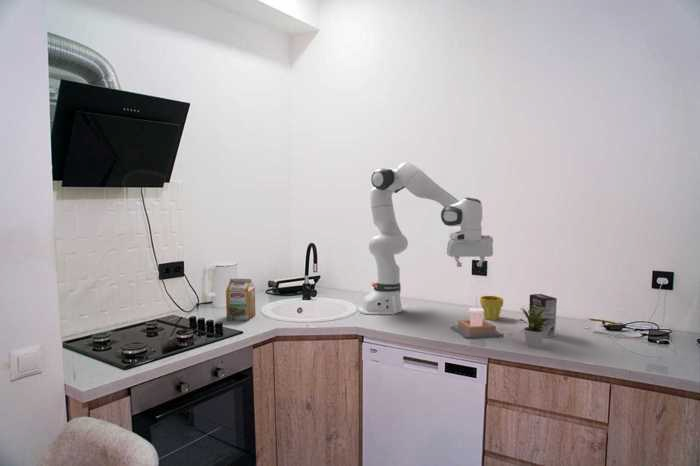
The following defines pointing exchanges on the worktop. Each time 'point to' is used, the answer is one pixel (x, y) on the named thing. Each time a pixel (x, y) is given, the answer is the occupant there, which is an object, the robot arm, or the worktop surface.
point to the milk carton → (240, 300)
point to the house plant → (534, 327)
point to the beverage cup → (476, 316)
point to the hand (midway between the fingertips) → (469, 266)
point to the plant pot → (491, 306)
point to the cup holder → (476, 330)
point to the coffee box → (545, 311)
